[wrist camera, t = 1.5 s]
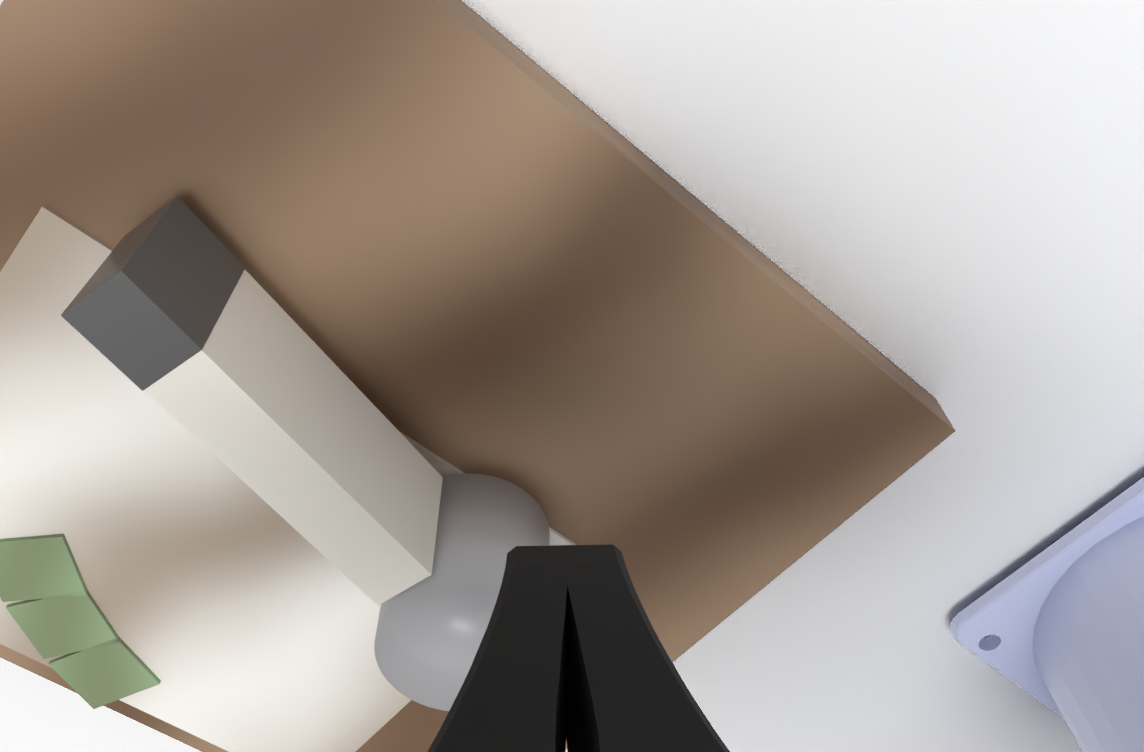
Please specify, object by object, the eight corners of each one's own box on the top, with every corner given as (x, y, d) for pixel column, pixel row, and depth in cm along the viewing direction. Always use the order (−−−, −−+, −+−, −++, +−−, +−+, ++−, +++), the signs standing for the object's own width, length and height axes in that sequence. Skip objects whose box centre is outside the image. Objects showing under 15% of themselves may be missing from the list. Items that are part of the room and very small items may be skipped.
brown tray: (935, 398, 22) (958, 436, 21) (434, 819, 29) (430, 865, 28) (167, -247, 16) (136, -245, 15) (-253, 484, 22) (-297, 527, 21)
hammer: (579, 549, 22) (586, 664, 19) (458, 616, 23) (448, 735, 20) (225, 157, 17) (168, 235, 15) (89, 259, 18) (11, 352, 16)
